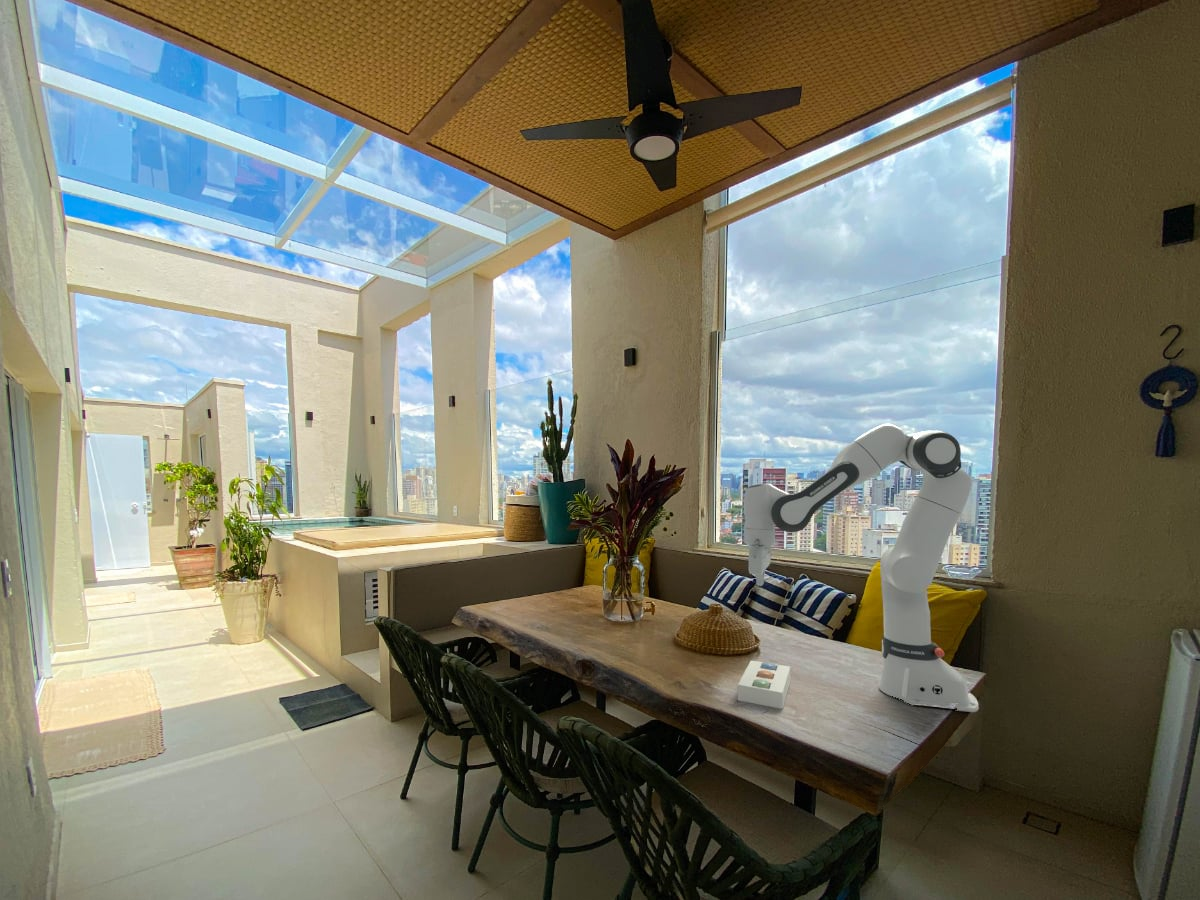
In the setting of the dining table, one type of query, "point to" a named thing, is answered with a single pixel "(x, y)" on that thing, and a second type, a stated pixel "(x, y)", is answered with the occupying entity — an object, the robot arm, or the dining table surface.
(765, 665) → the blue button
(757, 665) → the button console
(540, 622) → the dining table surface
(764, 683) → the sage button
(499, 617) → the dining table surface
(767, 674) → the terracotta button
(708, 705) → the dining table surface
